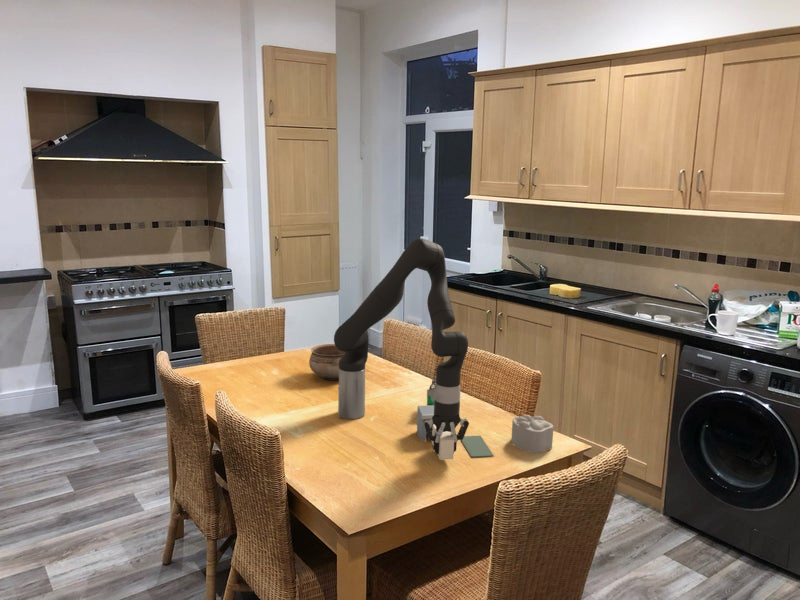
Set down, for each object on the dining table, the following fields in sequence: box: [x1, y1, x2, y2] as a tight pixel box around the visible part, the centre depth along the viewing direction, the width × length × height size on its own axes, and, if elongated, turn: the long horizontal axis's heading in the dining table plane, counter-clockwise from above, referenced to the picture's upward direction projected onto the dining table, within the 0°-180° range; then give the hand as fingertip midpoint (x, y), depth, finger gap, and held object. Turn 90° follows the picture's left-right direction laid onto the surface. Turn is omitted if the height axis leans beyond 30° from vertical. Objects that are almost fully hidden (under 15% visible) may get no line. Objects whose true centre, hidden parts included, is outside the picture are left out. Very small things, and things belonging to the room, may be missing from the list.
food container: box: [426, 379, 436, 405], centre depth 230 cm, size 12×6×10 cm, turn 168°
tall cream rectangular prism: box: [431, 424, 455, 461], centre depth 193 cm, size 4×12×6 cm, turn 9°
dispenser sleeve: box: [416, 404, 434, 442], centre depth 208 cm, size 9×9×9 cm
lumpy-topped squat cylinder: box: [510, 414, 554, 454], centre depth 204 cm, size 10×13×9 cm
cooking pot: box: [308, 343, 346, 381], centre depth 265 cm, size 25×19×12 cm
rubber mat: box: [460, 435, 495, 459], centre depth 202 cm, size 7×15×1 cm, turn 9°
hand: (444, 452), depth 190 cm, fingers closed on tall cream rectangular prism, 4 cm apart
